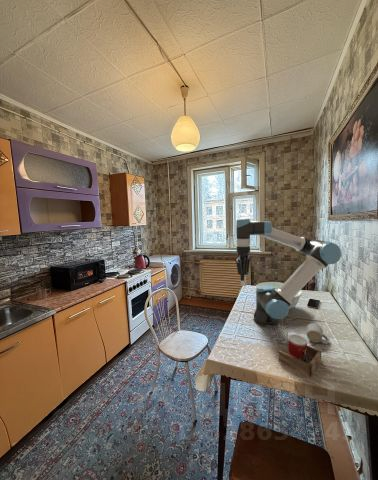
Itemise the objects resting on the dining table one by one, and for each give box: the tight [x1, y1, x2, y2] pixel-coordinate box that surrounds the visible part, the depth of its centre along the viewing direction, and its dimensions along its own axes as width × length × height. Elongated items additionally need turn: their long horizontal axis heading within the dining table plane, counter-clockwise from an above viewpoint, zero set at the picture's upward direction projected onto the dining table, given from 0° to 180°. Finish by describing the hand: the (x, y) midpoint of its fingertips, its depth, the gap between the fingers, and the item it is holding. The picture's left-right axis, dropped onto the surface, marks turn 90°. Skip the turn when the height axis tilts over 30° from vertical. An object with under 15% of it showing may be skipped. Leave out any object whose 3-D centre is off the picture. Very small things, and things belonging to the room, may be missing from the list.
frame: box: [278, 345, 322, 378], centre depth 97 cm, size 14×14×5 cm
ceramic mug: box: [306, 322, 330, 345], centre depth 112 cm, size 11×8×8 cm
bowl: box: [254, 281, 303, 310], centre depth 152 cm, size 32×32×15 cm
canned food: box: [287, 334, 308, 363], centre depth 97 cm, size 8×8×11 cm
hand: (243, 285), depth 119 cm, fingers closed
